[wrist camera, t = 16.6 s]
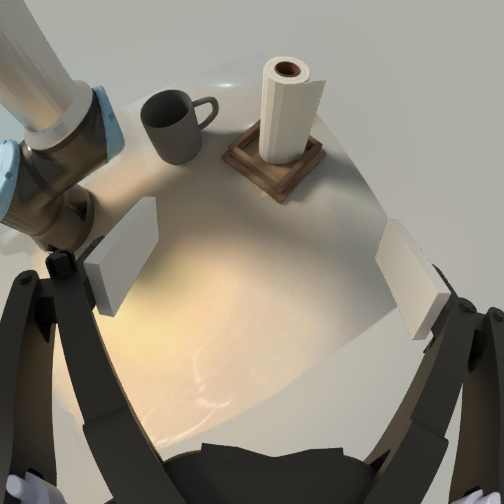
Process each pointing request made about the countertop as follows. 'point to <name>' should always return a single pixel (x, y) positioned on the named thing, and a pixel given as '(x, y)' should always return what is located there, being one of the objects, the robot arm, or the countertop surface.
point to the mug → (175, 124)
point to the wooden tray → (271, 175)
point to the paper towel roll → (287, 109)
